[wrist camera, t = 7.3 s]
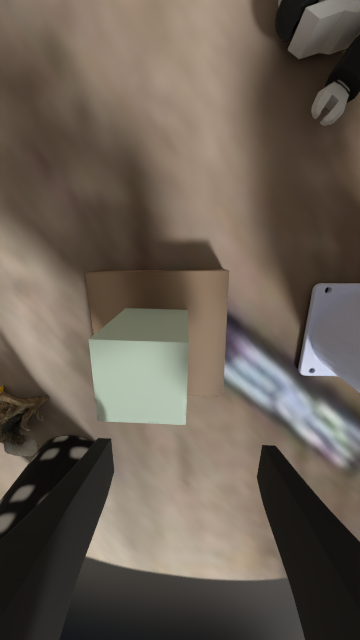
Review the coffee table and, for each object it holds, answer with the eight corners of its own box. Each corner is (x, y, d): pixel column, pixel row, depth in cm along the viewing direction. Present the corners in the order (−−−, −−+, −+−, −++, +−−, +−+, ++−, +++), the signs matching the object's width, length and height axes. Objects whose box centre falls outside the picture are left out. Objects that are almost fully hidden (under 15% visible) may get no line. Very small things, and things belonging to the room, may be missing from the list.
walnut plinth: (222, 268, 17) (229, 270, 14) (217, 376, 20) (222, 396, 17) (101, 270, 17) (84, 272, 14) (114, 376, 20) (102, 395, 17)
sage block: (187, 309, 15) (188, 342, 9) (186, 365, 16) (185, 424, 11) (125, 308, 15) (88, 339, 9) (129, 363, 16) (97, 421, 11)
